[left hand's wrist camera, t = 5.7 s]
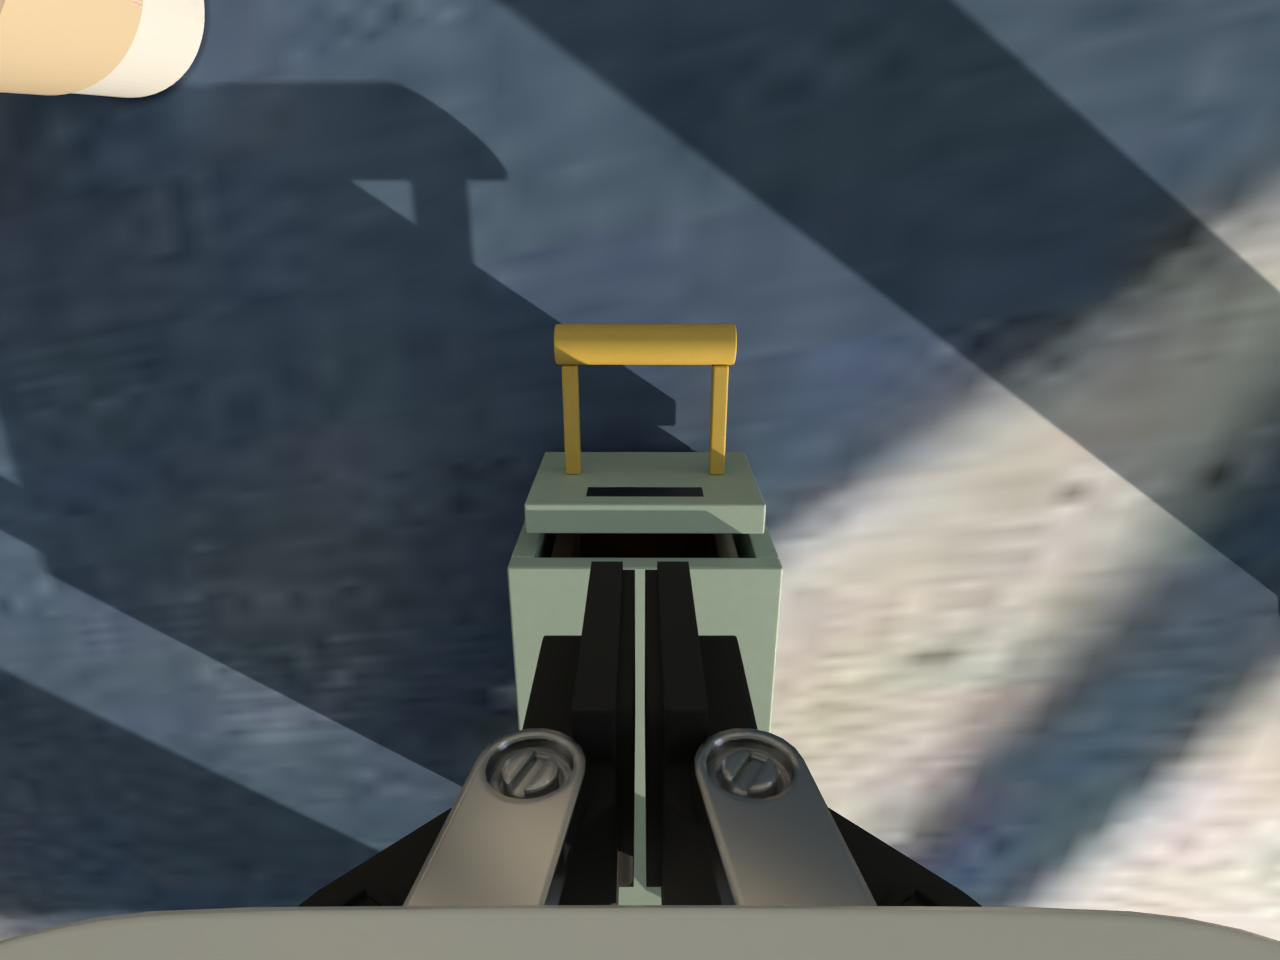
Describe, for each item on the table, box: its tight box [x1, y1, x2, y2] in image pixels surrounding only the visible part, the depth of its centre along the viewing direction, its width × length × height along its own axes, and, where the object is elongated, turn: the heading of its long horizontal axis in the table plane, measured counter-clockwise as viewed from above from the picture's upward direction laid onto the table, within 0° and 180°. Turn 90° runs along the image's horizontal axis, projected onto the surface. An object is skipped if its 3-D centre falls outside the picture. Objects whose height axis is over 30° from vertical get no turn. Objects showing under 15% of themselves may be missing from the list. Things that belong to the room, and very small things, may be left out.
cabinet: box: [507, 522, 783, 905], centre depth 34 cm, size 21×10×8 cm, turn 0°
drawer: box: [524, 324, 766, 558], centre depth 32 cm, size 26×9×6 cm, turn 0°
